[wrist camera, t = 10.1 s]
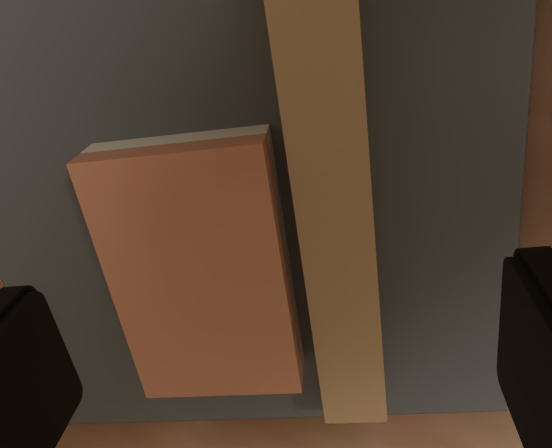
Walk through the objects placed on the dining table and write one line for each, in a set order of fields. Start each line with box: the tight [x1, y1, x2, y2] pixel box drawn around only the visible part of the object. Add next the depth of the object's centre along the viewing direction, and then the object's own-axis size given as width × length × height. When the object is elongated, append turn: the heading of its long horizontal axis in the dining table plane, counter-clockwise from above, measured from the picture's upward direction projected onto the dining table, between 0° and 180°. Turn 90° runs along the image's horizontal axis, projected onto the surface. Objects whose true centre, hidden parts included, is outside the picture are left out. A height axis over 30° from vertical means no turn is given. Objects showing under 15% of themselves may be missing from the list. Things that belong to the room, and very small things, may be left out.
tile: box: [66, 124, 304, 398], centre depth 15 cm, size 8×2×5 cm
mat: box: [0, 0, 537, 424], centre depth 14 cm, size 18×16×2 cm
